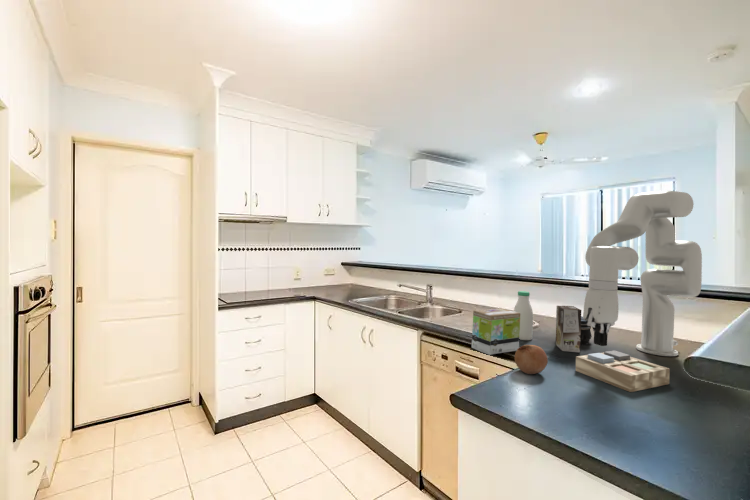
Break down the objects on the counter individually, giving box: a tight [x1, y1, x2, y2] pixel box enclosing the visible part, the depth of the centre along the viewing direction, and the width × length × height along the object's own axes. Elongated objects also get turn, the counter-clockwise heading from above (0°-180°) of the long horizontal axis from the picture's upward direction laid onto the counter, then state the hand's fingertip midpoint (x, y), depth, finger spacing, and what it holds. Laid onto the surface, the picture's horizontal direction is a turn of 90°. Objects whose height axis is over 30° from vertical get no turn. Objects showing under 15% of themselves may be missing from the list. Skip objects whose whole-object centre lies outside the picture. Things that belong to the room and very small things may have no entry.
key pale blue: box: [587, 352, 614, 364], centre depth 110 cm, size 5×5×3 cm
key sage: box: [631, 363, 653, 369], centre depth 106 cm, size 5×5×3 cm
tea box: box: [471, 307, 520, 356], centre depth 134 cm, size 15×10×15 cm, turn 117°
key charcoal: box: [603, 349, 631, 361], centre depth 113 cm, size 5×5×3 cm
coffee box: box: [555, 305, 583, 353], centre depth 137 cm, size 9×6×16 cm
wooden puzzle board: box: [575, 352, 671, 393], centre depth 108 cm, size 17×17×5 cm
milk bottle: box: [513, 290, 534, 341], centre depth 151 cm, size 8×8×20 cm
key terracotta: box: [614, 366, 637, 372], centre depth 104 cm, size 5×5×3 cm
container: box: [580, 315, 593, 346], centre depth 148 cm, size 13×13×10 cm
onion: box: [514, 344, 549, 375], centre depth 111 cm, size 10×9×10 cm
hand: (600, 344), depth 110 cm, fingers closed
